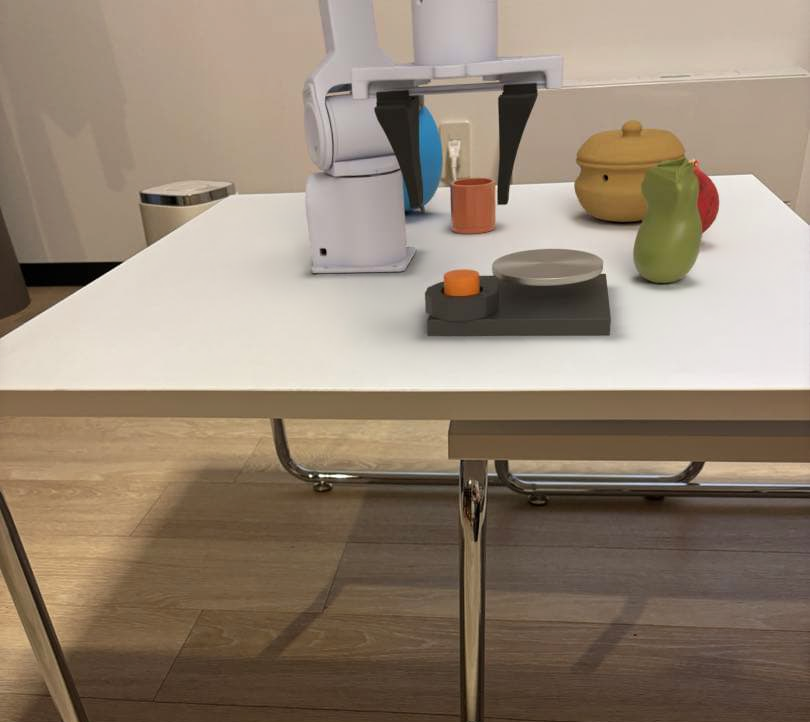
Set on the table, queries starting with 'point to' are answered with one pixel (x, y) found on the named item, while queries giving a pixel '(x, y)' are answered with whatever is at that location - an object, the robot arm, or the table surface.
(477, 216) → the orange plastic cup
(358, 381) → the table surface
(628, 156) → the pot
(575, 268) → the scale pan
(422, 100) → the alarm clock
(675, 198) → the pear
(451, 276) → the tare button
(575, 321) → the scale
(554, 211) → the table surface
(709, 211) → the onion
